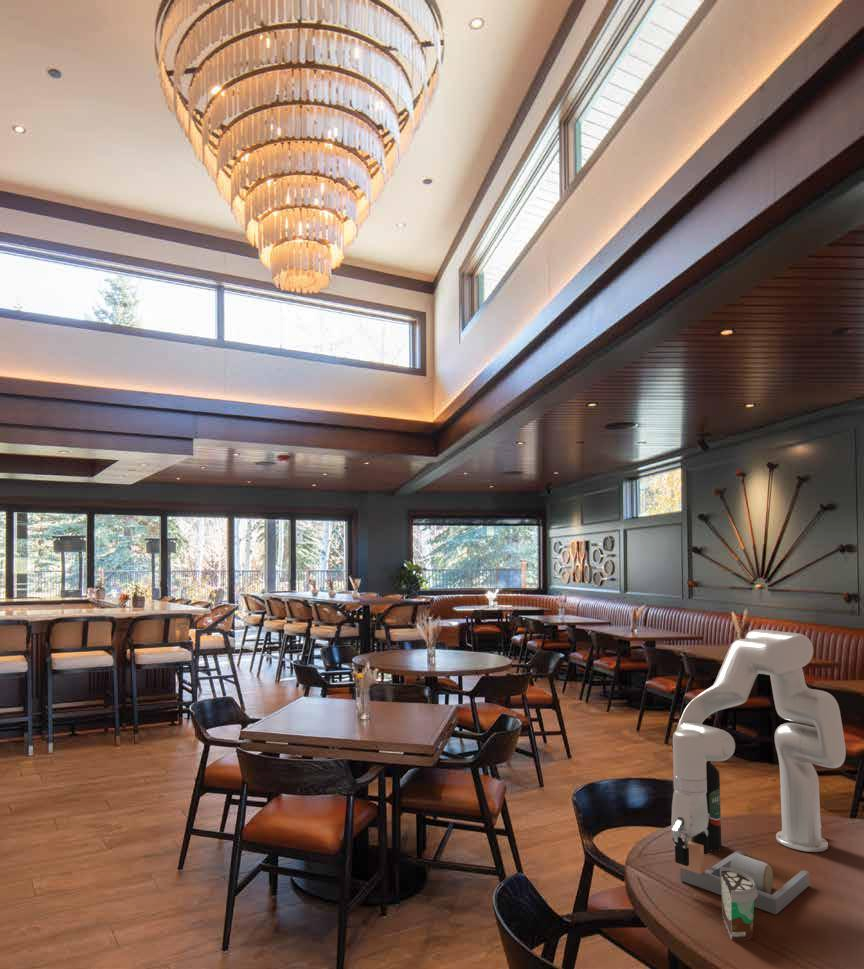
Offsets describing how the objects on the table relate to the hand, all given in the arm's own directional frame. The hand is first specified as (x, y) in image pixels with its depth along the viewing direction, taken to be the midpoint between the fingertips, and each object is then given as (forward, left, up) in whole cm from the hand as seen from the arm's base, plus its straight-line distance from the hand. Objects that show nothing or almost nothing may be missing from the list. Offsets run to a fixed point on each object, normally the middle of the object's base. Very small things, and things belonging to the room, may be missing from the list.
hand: (691, 858), depth 169 cm
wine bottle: (-25, -8, -6) cm, 26 cm away
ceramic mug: (-8, +11, -6) cm, 15 cm away
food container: (+12, +17, -6) cm, 22 cm away
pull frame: (-9, +8, -6) cm, 14 cm away
